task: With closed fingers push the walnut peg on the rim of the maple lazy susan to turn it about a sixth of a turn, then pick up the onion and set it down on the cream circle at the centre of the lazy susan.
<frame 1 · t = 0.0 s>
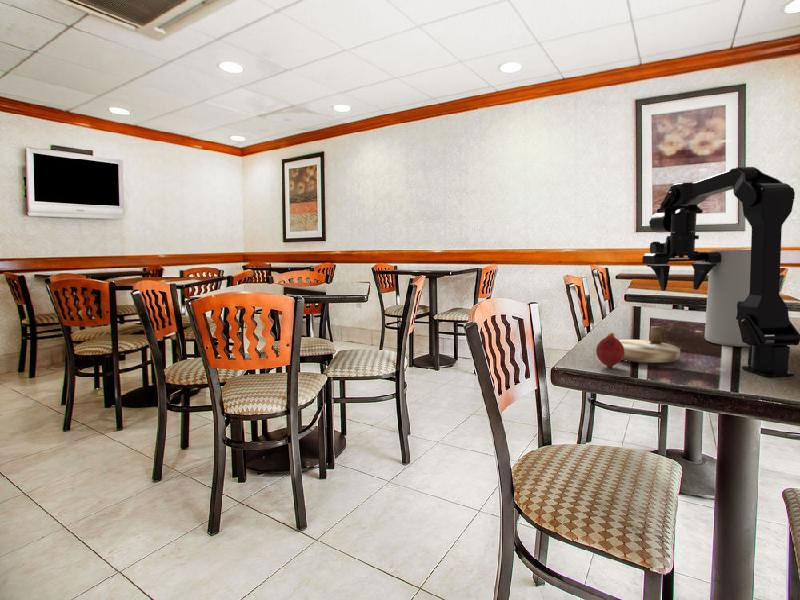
hand: (679, 290, 123), 15 cm above the table, tool pointing down, fingers open, 9 cm apart
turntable: (642, 342, 111), point 4 cm above the table, hinge at 0.0°
susan base: (641, 357, 112), on the table
onion: (609, 368, 104), on the table
cylinder vase: (731, 342, 125), on the table
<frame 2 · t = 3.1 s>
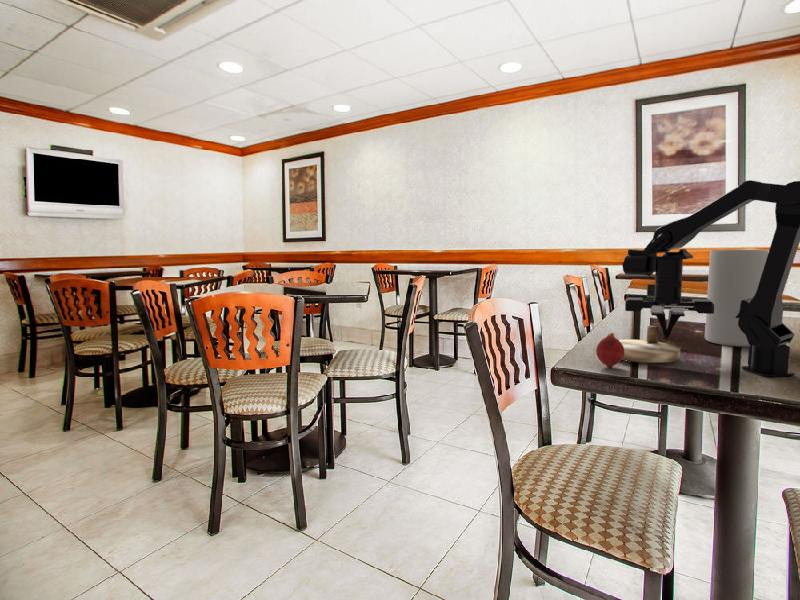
hand: (665, 339, 114), 4 cm above the table, tool pointing down, fingers closed
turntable: (642, 342, 111), point 4 cm above the table, hinge at 7.3°, touching gripper
everything else where it was.
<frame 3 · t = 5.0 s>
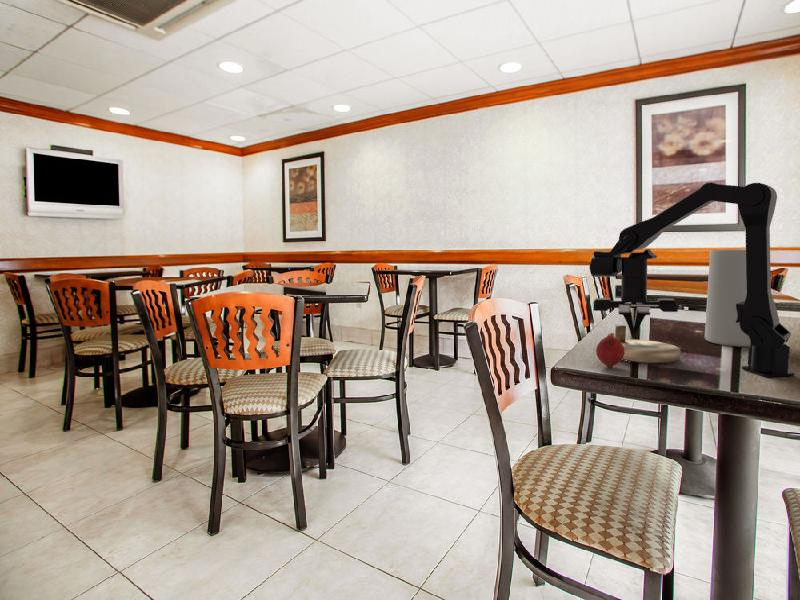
hand: (633, 338, 117), 4 cm above the table, tool pointing down, fingers closed
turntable: (642, 342, 111), point 4 cm above the table, hinge at 75.9°, touching gripper
everything else where it was.
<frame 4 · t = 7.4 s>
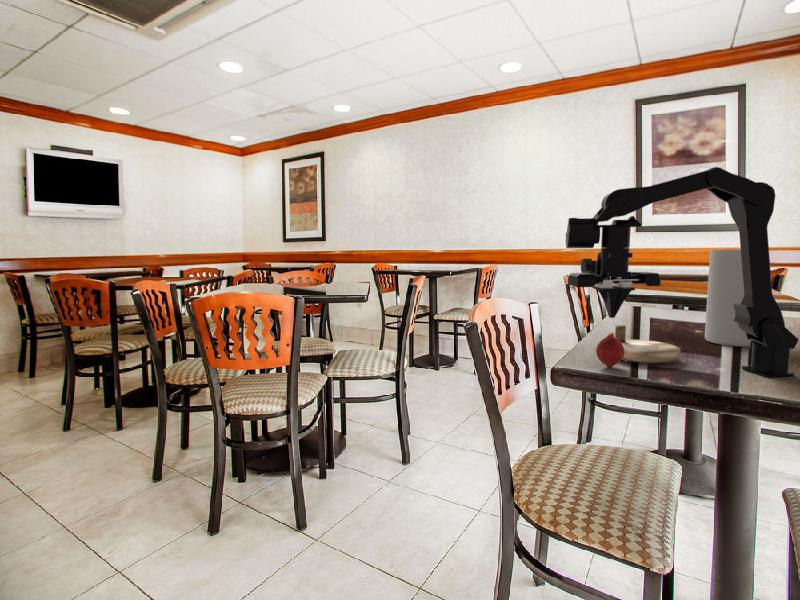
hand: (611, 317, 103), 11 cm above the table, tool pointing down, fingers closed
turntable: (642, 342, 111), point 4 cm above the table, hinge at 75.9°
everything else where it was.
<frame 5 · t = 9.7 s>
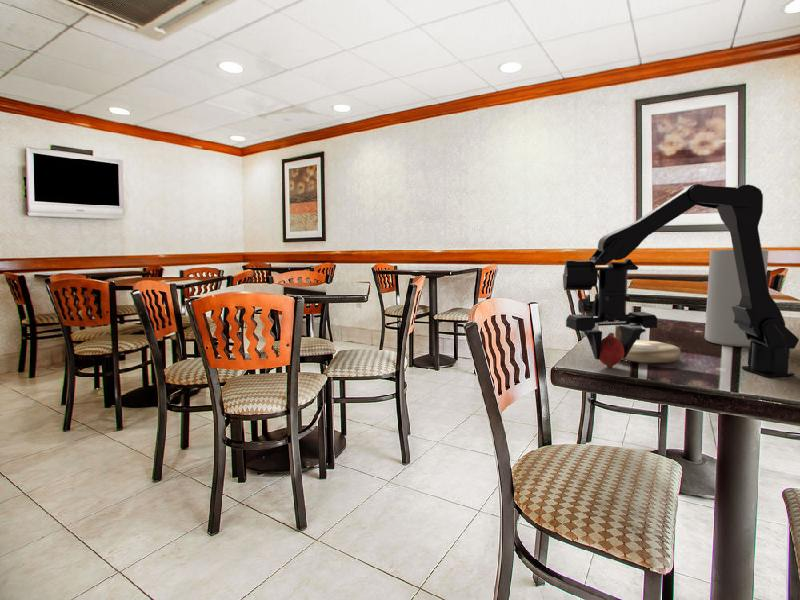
hand: (610, 358, 104), 2 cm above the table, tool pointing down, fingers closed on onion, 6 cm apart
onion: (609, 368, 104), on the table, touching gripper
everything else where it was.
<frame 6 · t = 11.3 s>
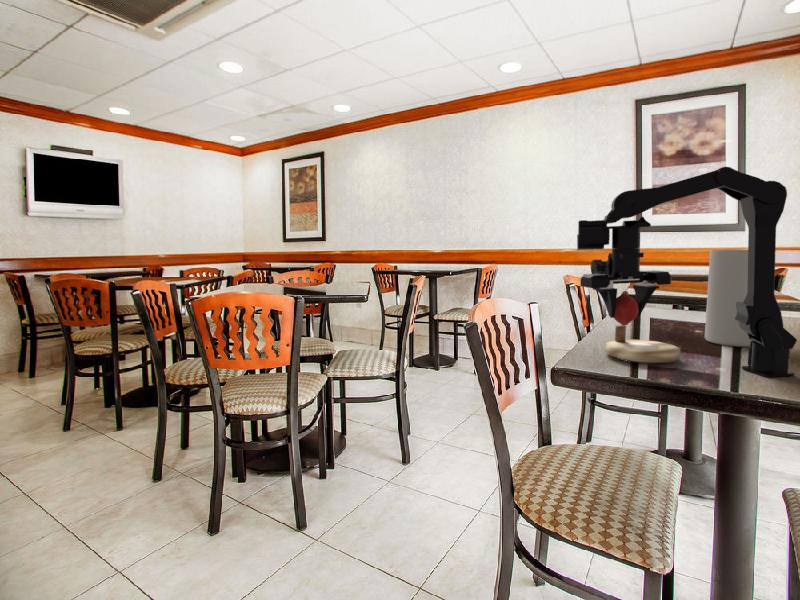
hand: (624, 316, 105), 11 cm above the table, tool pointing down, fingers closed on onion, 6 cm apart
onion: (624, 326, 105), point 9 cm above the table, touching gripper
everything else where it was.
when the fingers open (6 cm above the table, at t = 13.1 s): onion drops 1 cm, resting on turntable.
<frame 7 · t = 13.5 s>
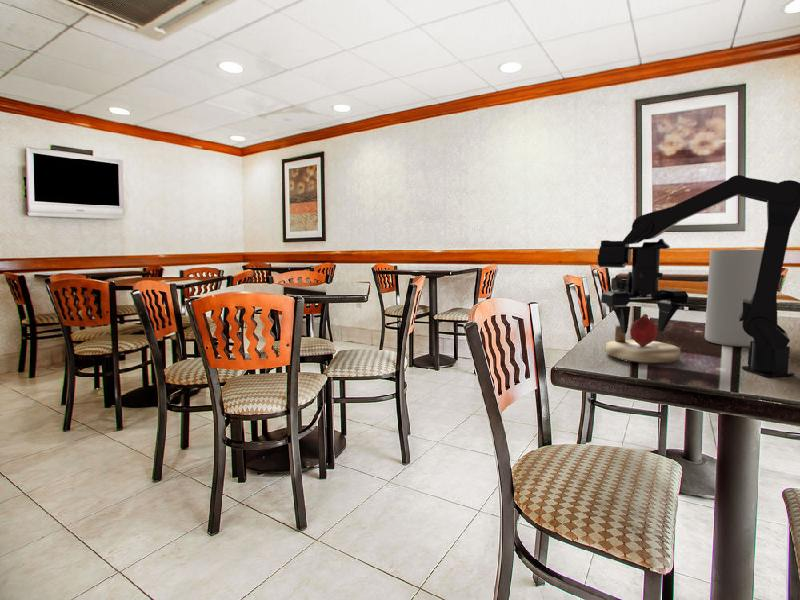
hand: (642, 332, 111), 6 cm above the table, tool pointing down, fingers open, 9 cm apart
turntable: (642, 342, 111), point 4 cm above the table, hinge at 75.9°, touching onion
onion: (642, 347, 111), point 3 cm above the table, touching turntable
everything else where it was.
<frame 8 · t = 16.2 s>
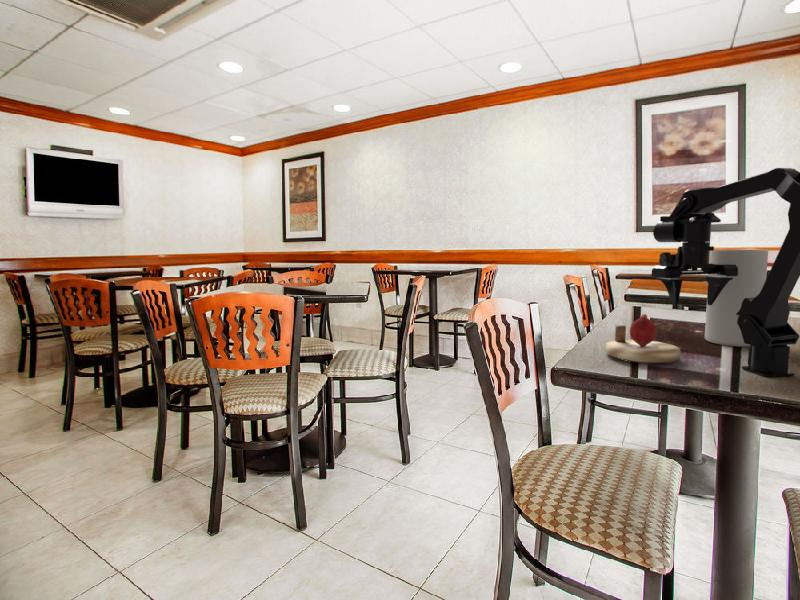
hand: (692, 305, 113), 12 cm above the table, tool pointing down, fingers open, 9 cm apart
nothing on the table moved.
at the end: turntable at +76° (first picture: +0°); onion inside the target area on the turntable (0.1 cm from its centre), point 2.5 cm above the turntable's base; the gripper is holding nothing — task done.
